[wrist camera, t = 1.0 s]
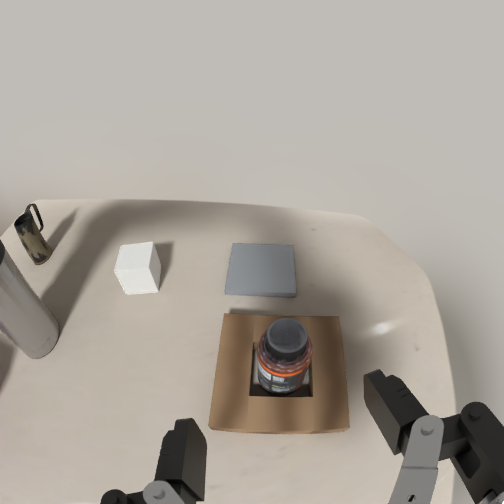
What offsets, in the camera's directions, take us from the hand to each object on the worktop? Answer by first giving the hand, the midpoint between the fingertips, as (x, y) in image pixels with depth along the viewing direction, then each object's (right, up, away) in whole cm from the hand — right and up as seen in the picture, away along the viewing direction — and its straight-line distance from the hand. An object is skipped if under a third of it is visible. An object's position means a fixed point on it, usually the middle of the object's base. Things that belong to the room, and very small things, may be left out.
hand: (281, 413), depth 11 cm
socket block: (+2, -9, +23) cm, 24 cm away
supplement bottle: (+2, -9, +23) cm, 25 cm away
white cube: (-20, +2, +35) cm, 41 cm away
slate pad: (0, +4, +36) cm, 37 cm away
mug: (-50, +7, +41) cm, 65 cm away
